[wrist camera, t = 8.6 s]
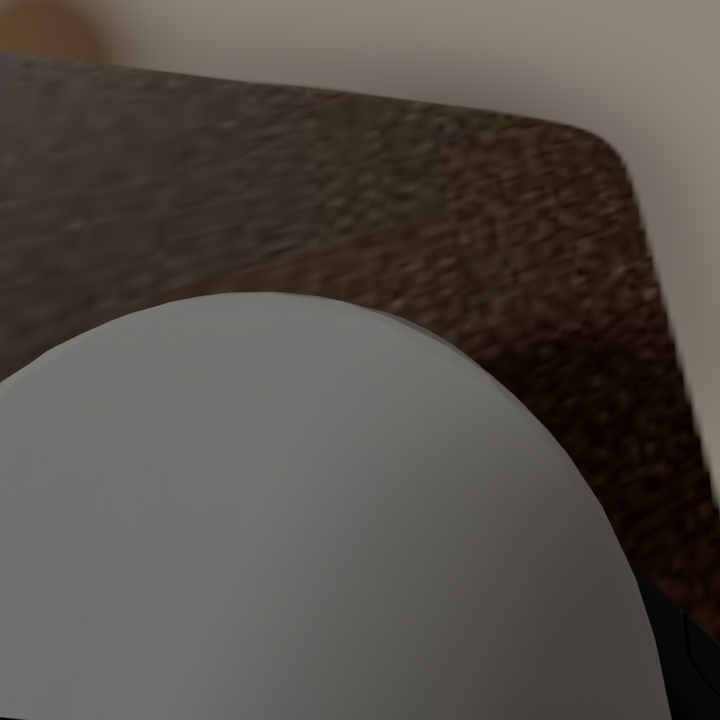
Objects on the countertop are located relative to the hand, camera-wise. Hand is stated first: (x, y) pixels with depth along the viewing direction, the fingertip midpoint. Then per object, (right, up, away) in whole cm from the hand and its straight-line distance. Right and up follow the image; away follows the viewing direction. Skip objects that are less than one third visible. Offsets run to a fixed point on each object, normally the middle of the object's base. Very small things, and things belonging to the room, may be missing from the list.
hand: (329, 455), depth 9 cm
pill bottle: (0, -3, +7) cm, 7 cm away
